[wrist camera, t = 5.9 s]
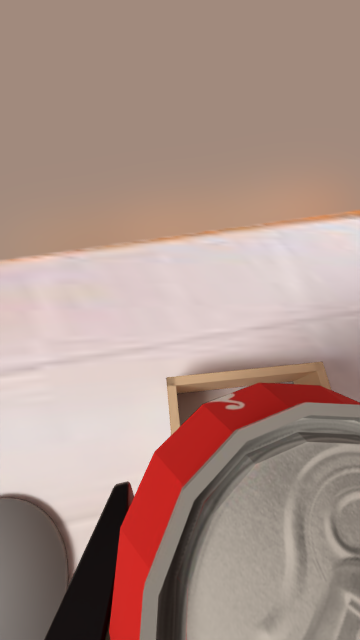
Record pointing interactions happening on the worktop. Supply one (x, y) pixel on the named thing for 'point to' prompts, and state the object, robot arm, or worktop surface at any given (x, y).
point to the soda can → (247, 523)
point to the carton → (242, 381)
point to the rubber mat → (29, 570)
